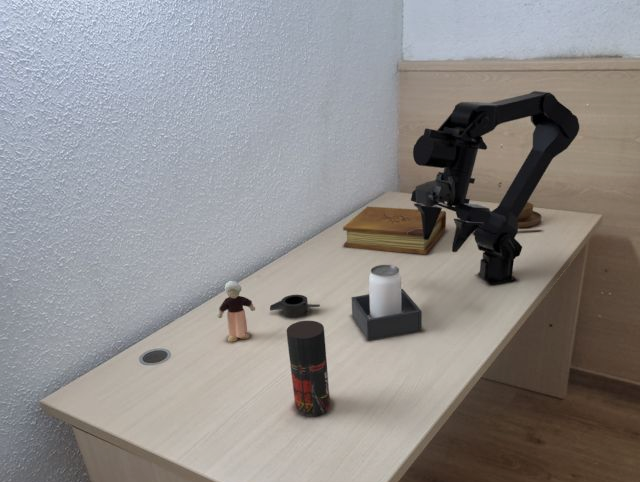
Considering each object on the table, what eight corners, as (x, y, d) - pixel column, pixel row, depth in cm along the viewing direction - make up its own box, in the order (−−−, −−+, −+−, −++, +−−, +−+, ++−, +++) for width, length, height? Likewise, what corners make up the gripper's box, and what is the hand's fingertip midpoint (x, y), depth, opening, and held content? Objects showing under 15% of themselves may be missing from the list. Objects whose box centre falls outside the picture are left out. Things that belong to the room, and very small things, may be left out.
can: (400, 331, 125) (399, 276, 118) (368, 330, 126) (366, 276, 120) (402, 316, 130) (402, 263, 124) (372, 315, 131) (370, 263, 125)
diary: (445, 230, 172) (446, 210, 169) (426, 255, 158) (426, 233, 155) (369, 224, 181) (368, 204, 178) (344, 246, 167) (343, 226, 164)
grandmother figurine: (226, 346, 125) (216, 289, 118) (220, 338, 128) (210, 282, 121) (261, 335, 127) (253, 279, 121) (254, 328, 130) (246, 273, 124)
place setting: (549, 231, 165) (552, 209, 162) (474, 236, 166) (476, 214, 163) (531, 210, 180) (533, 190, 177) (462, 215, 181) (463, 195, 178)
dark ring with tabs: (289, 300, 141) (287, 289, 139) (323, 310, 135) (322, 298, 134) (267, 314, 135) (265, 302, 134) (302, 324, 130) (301, 312, 129)
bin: (402, 307, 134) (402, 288, 131) (421, 330, 124) (421, 311, 122) (352, 316, 132) (351, 297, 129) (367, 340, 122) (366, 320, 120)
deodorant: (294, 398, 107) (285, 322, 99) (328, 394, 107) (322, 318, 99) (296, 418, 102) (287, 340, 94) (331, 414, 102) (325, 336, 94)
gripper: (399, 158, 126) (383, 232, 133) (460, 176, 112) (439, 258, 119) (439, 163, 132) (422, 234, 138) (502, 180, 118) (480, 258, 124)
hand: (439, 245), depth 130 cm, fingers open, 9 cm apart
